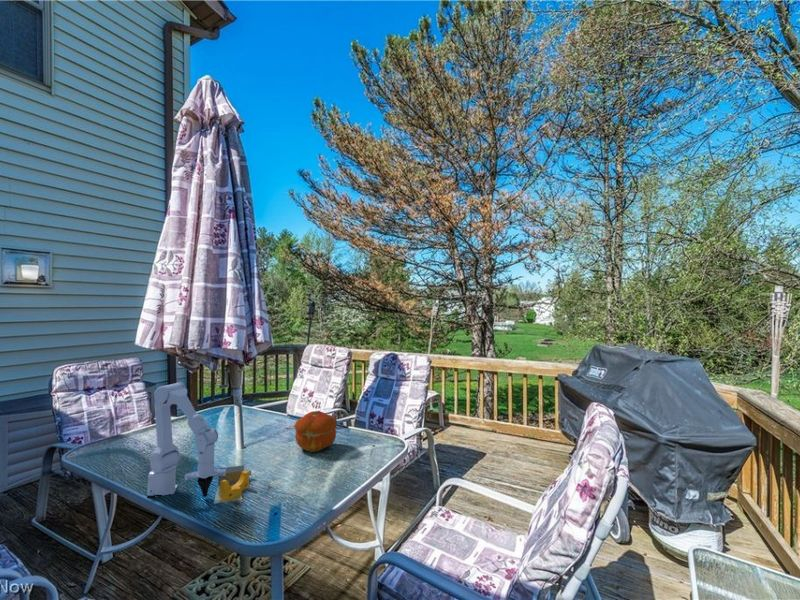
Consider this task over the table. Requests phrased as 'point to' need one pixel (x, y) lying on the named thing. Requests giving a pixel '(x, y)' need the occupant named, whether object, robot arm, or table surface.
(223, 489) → the pipe clamp
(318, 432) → the pumpkin
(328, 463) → the table surface
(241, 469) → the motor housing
